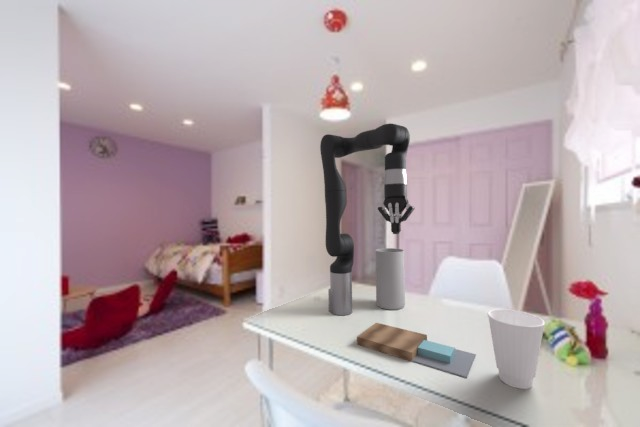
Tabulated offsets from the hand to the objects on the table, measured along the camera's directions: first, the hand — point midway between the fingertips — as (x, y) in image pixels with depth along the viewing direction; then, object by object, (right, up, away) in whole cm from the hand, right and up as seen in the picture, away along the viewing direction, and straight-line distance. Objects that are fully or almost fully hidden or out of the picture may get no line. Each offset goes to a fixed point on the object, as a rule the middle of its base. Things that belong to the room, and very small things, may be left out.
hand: (396, 233), depth 98 cm
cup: (+23, -35, -26) cm, 50 cm away
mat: (+10, -35, -15) cm, 40 cm away
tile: (+8, -35, -14) cm, 38 cm away
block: (-3, -35, -6) cm, 36 cm away
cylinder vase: (+6, -35, +30) cm, 47 cm away
